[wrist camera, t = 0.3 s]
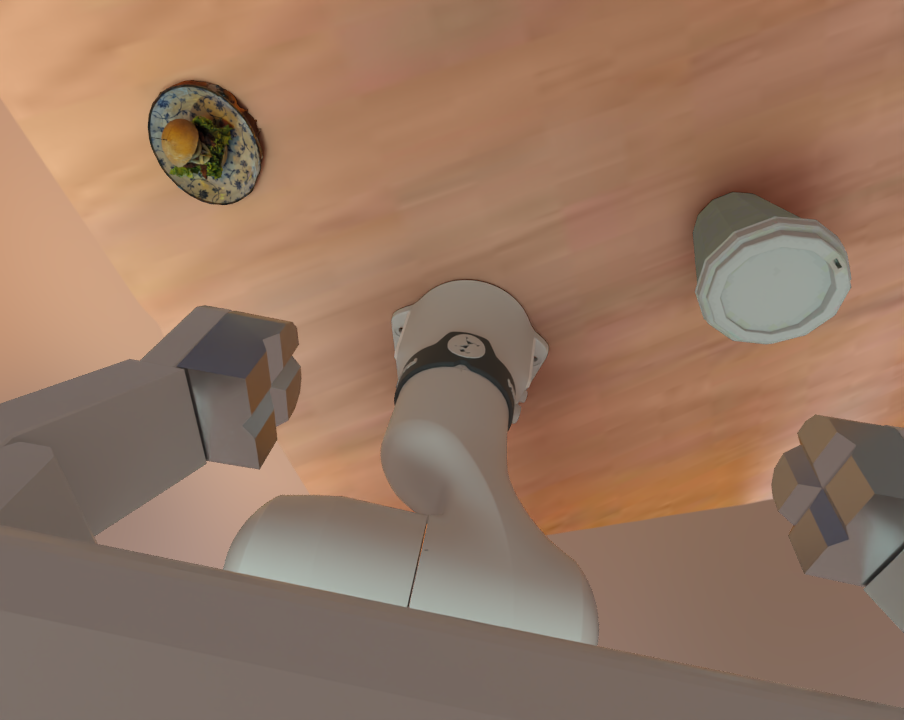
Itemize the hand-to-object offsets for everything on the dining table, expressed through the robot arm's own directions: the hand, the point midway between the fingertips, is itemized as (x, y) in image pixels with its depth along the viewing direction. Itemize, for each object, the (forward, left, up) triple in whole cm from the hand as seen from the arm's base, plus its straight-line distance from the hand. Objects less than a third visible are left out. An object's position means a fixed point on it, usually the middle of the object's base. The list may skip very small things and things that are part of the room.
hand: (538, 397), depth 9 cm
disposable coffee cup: (-11, -20, -47) cm, 53 cm away
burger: (-14, +32, -47) cm, 59 cm away
